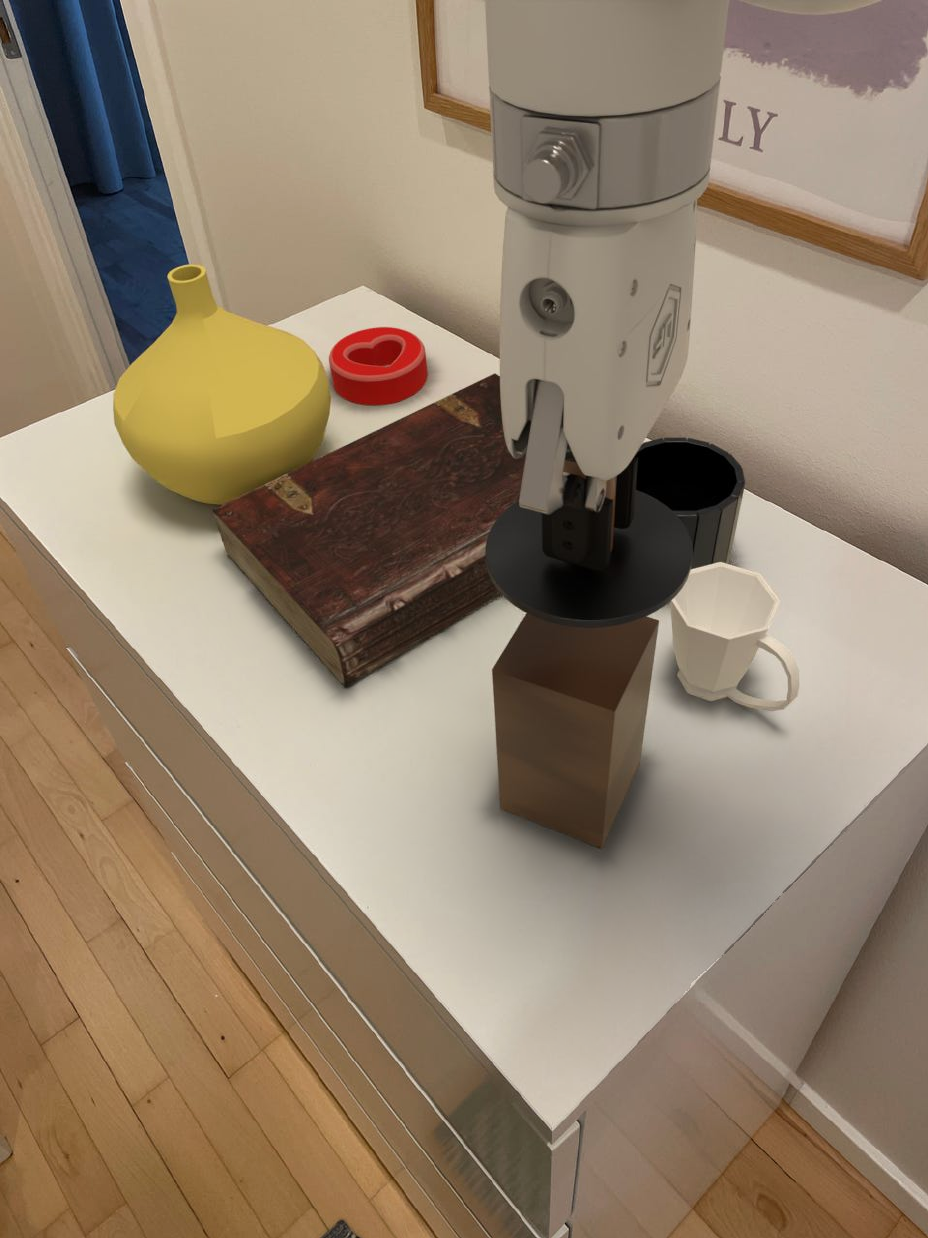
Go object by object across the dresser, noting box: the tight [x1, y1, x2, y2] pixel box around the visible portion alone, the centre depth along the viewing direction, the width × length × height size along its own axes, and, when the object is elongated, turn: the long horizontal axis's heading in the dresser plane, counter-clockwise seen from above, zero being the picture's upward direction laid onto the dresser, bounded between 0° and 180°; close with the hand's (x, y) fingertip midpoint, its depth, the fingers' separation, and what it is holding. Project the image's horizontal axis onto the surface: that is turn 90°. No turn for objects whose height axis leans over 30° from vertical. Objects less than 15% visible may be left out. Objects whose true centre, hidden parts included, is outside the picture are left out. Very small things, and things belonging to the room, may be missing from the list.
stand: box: [491, 613, 660, 849], centre depth 57 cm, size 7×7×14 cm
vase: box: [112, 263, 332, 506], centre depth 80 cm, size 18×18×19 cm
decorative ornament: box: [328, 326, 429, 406], centre depth 95 cm, size 10×10×3 cm
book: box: [211, 372, 526, 688], centre depth 77 cm, size 29×19×5 cm, turn 127°
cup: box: [669, 562, 800, 712], centre depth 63 cm, size 7×10×8 cm
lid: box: [485, 460, 693, 628], centre depth 44 cm, size 10×10×6 cm
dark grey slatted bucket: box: [634, 436, 746, 569], centre depth 72 cm, size 9×9×8 cm
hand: (588, 536), depth 45 cm, fingers closed on lid, 2 cm apart
